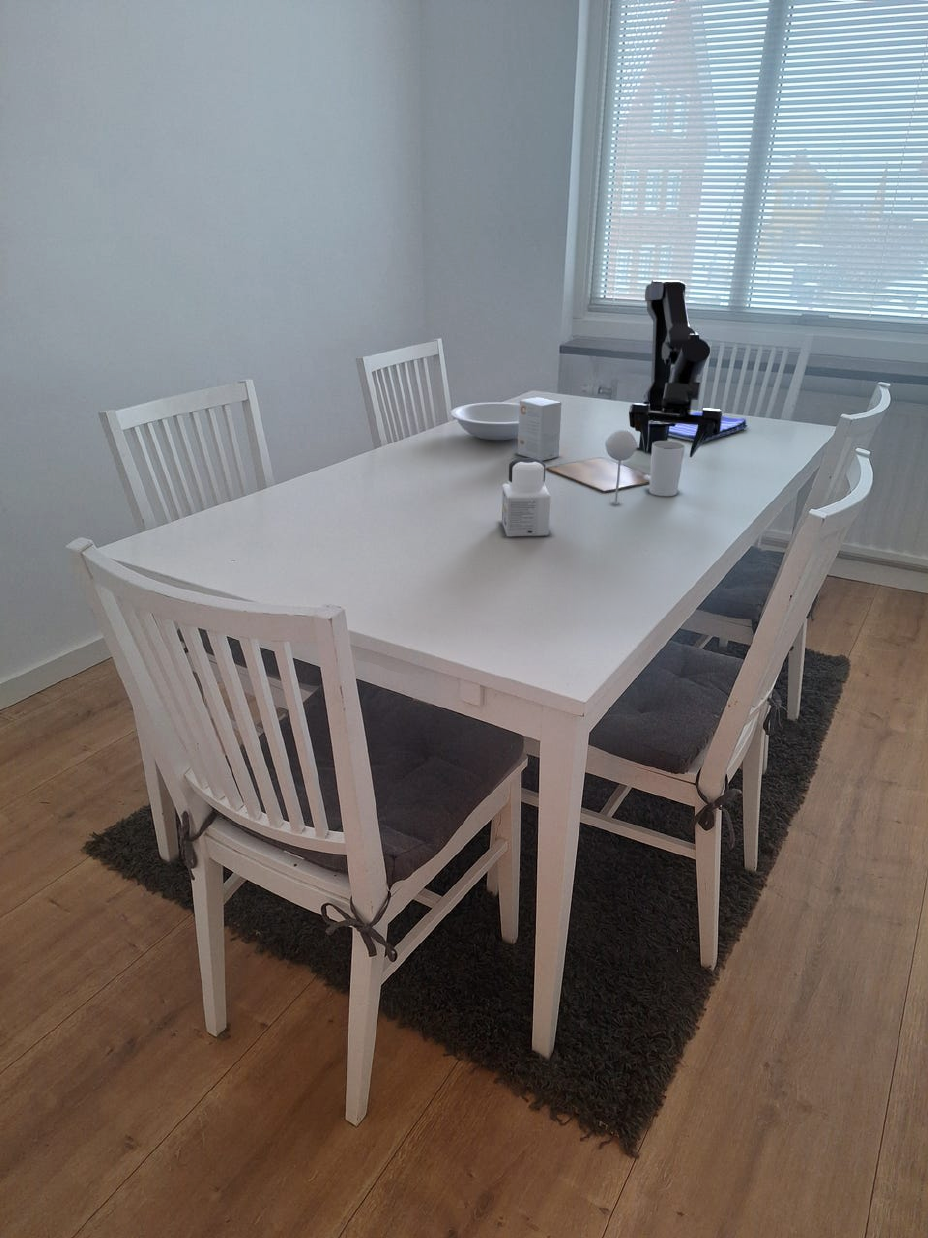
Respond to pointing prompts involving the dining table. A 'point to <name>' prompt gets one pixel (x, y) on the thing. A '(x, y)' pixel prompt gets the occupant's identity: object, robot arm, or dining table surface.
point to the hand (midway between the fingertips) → (667, 454)
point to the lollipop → (620, 449)
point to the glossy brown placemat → (601, 474)
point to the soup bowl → (489, 420)
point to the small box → (539, 428)
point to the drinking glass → (665, 467)
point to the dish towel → (726, 428)
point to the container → (526, 499)
